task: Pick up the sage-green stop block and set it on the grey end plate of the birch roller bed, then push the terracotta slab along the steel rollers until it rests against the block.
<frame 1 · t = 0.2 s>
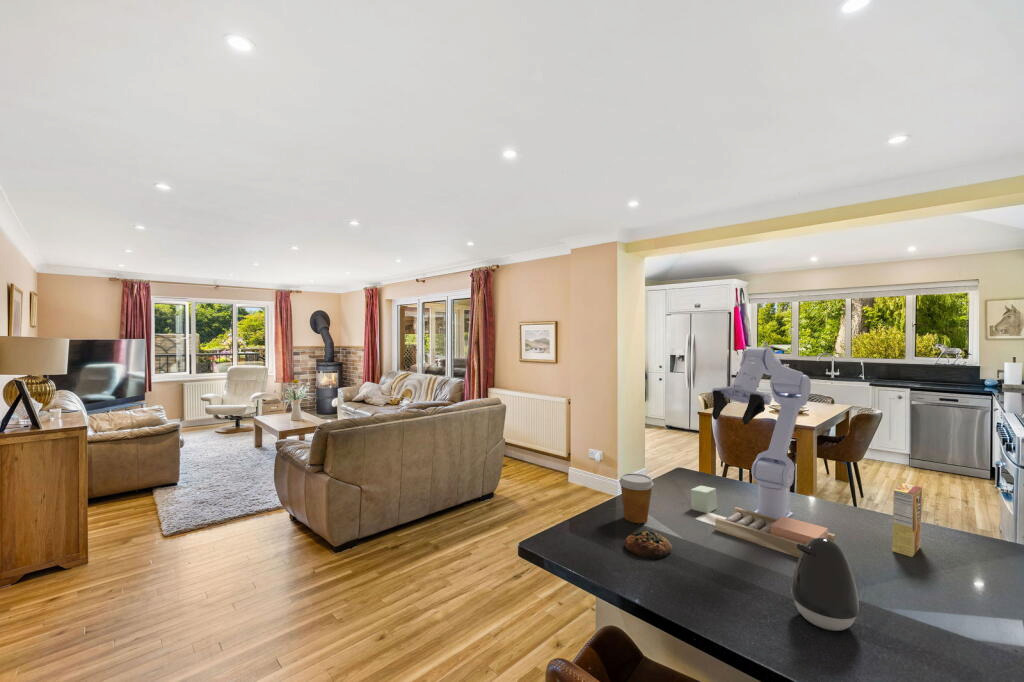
hand: (729, 419, 116), 31 cm above the worktop, fingers open, 7 cm apart
roller bed: (772, 538, 117), on the worktop
slab: (798, 536, 113), point 2 cm above the worktop, touching roller bed
bread roll: (647, 550, 111), on the worktop
disposable coffee cup: (635, 520, 129), on the worktop
candy box: (906, 550, 112), on the worktop
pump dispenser: (823, 622, 83), on the worktop
stop block: (704, 508, 137), on the worktop, touching roller bed
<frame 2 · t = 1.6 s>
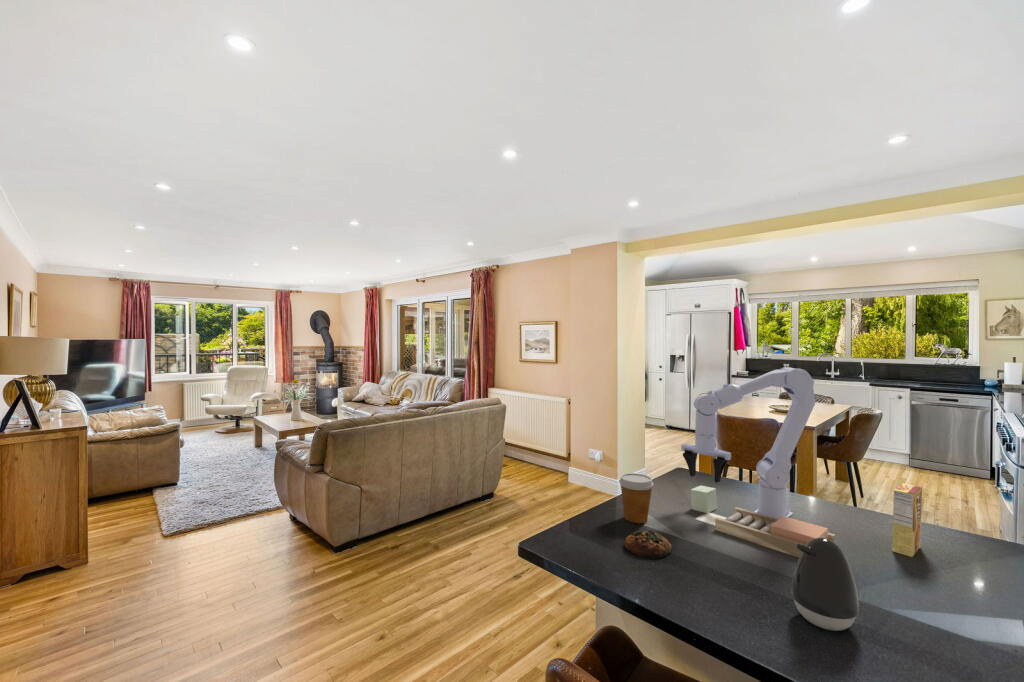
hand: (704, 478, 137), 9 cm above the worktop, fingers open, 7 cm apart
nothing on the worktop moved.
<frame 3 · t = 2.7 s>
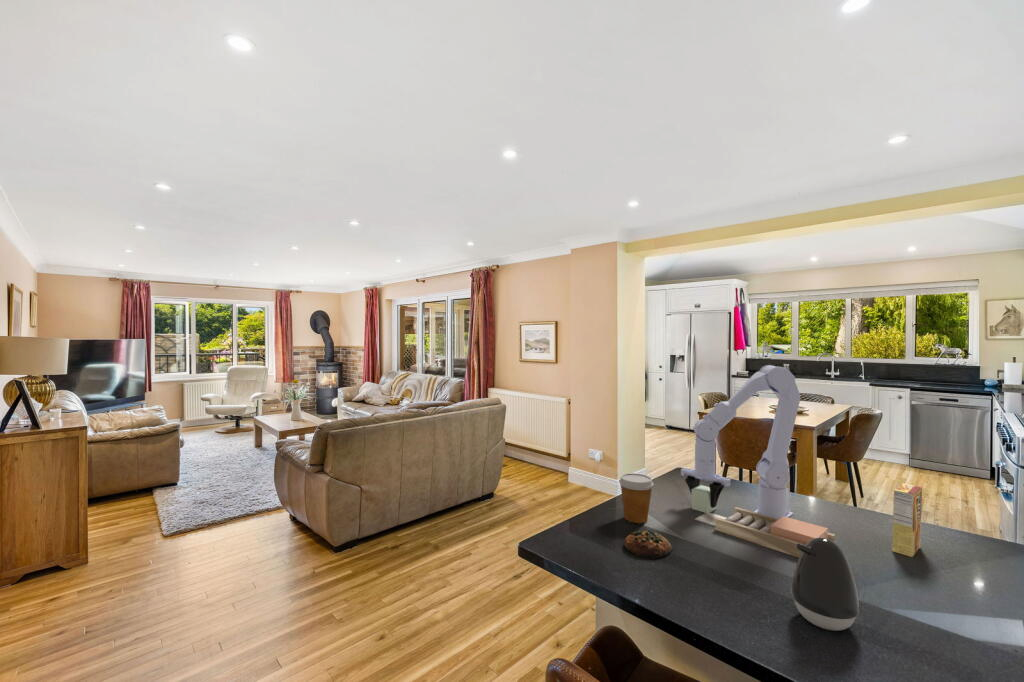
hand: (704, 504, 137), 2 cm above the worktop, fingers closed on stop block, 5 cm apart
stop block: (704, 508, 137), on the worktop, touching gripper, roller bed
everything else where it was.
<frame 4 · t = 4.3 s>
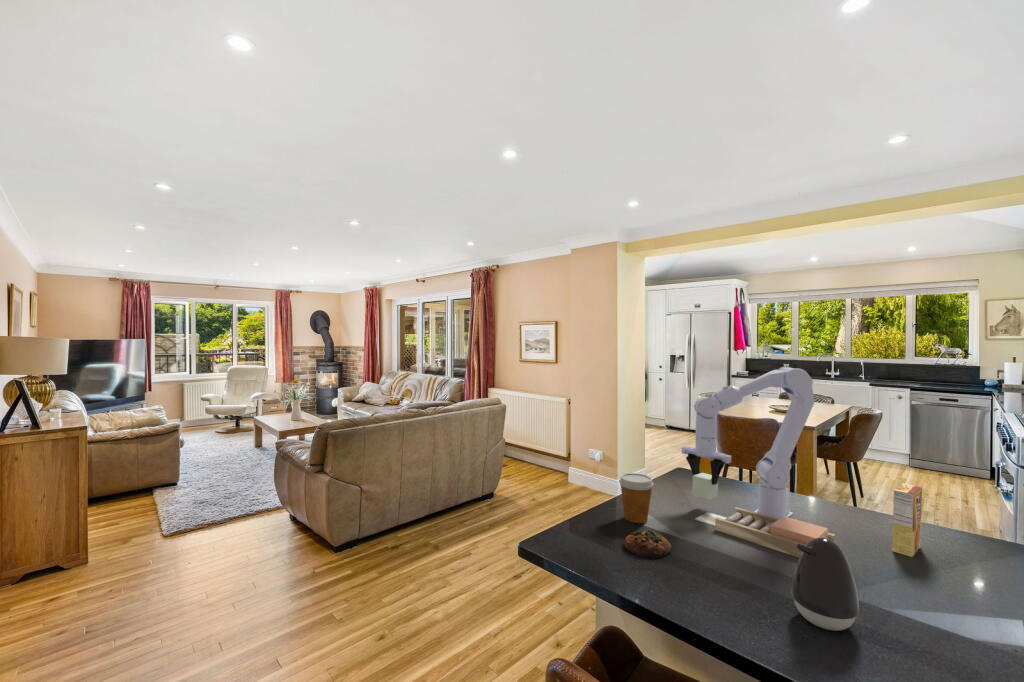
hand: (705, 481, 137), 9 cm above the worktop, fingers closed on stop block, 5 cm apart
stop block: (704, 495, 137), point 4 cm above the worktop, touching gripper
everything else where it was.
when the fingers open (9 cm above the worktop, at t = 4.5 s): stop block drops 3 cm, resting on roller bed.
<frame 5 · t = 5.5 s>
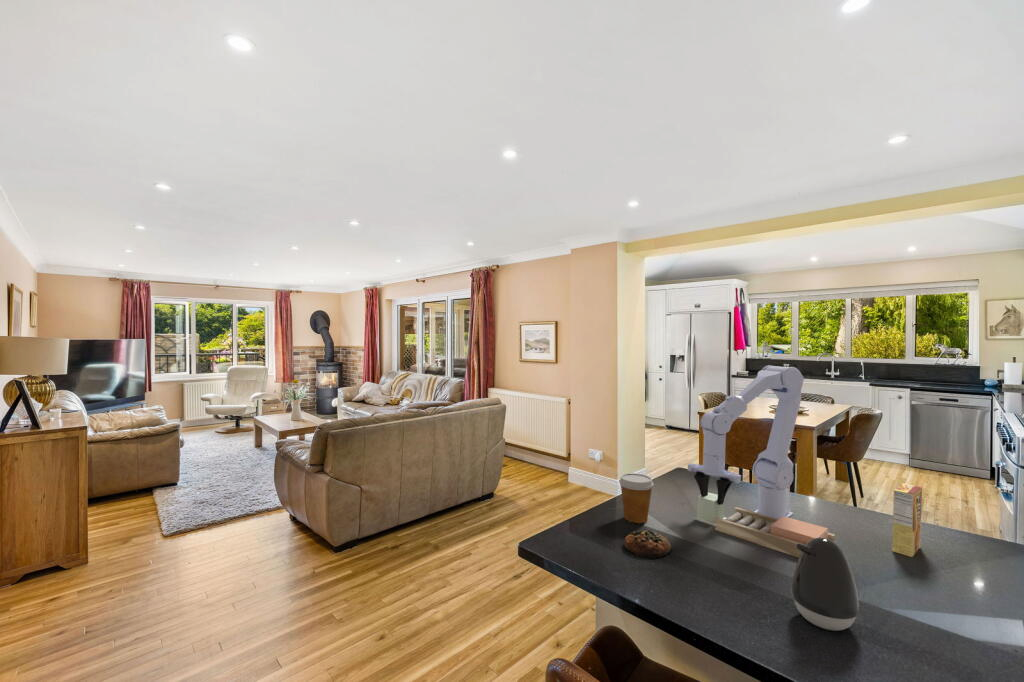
hand: (712, 501, 129), 5 cm above the worktop, fingers open, 4 cm apart
stop block: (710, 517, 130), resting on roller bed, touching gripper
everything else where it was.
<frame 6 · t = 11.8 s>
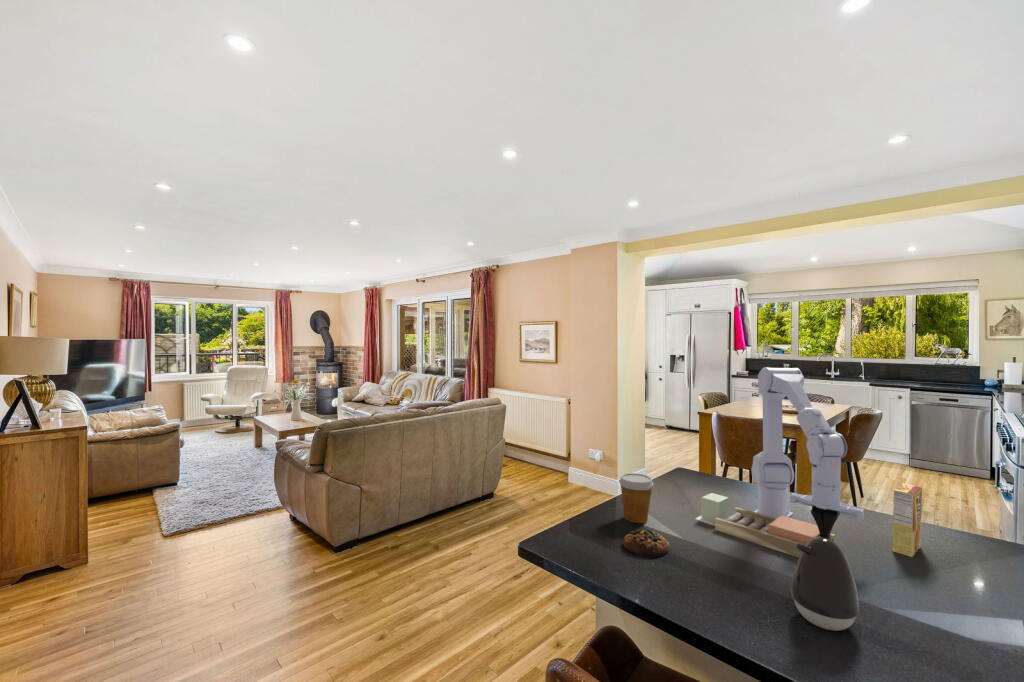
hand: (825, 539, 109), 4 cm above the worktop, fingers closed
slab: (796, 536, 113), point 3 cm above the worktop, touching gripper
stop block: (714, 518, 130), resting on roller bed
everything else where it was.
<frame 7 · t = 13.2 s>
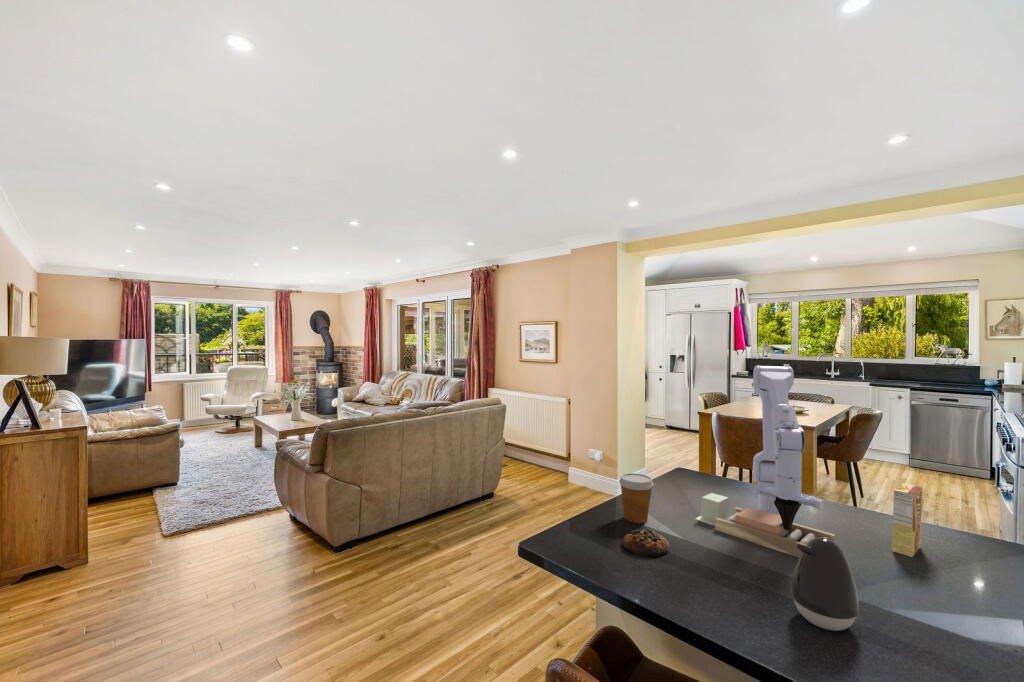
hand: (787, 528, 115), 4 cm above the worktop, fingers closed
slab: (762, 525, 119), point 3 cm above the worktop, touching gripper, roller bed
everything else where it was.
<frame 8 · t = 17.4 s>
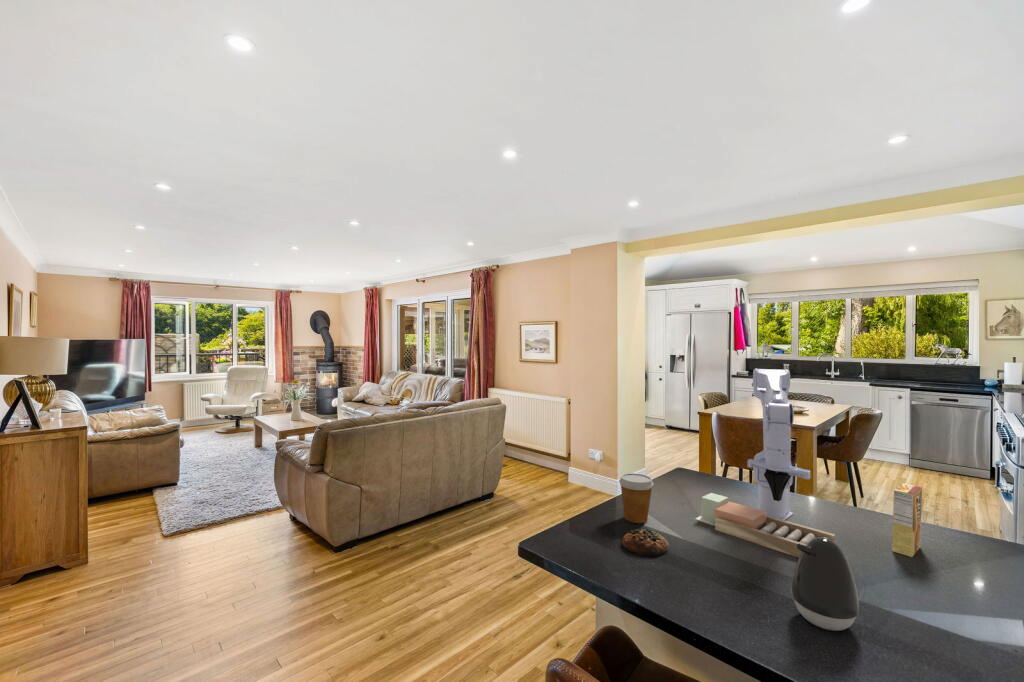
hand: (777, 499, 119), 9 cm above the worktop, fingers closed
slab: (740, 519, 124), point 2 cm above the worktop, touching roller bed
at the end: slab 0.1 cm from the target spot, point 2.5 cm above the worktop; slab 7.6 cm from the stop block (horizontally); stop block 1.3 cm from the target spot, resting on roller bed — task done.
